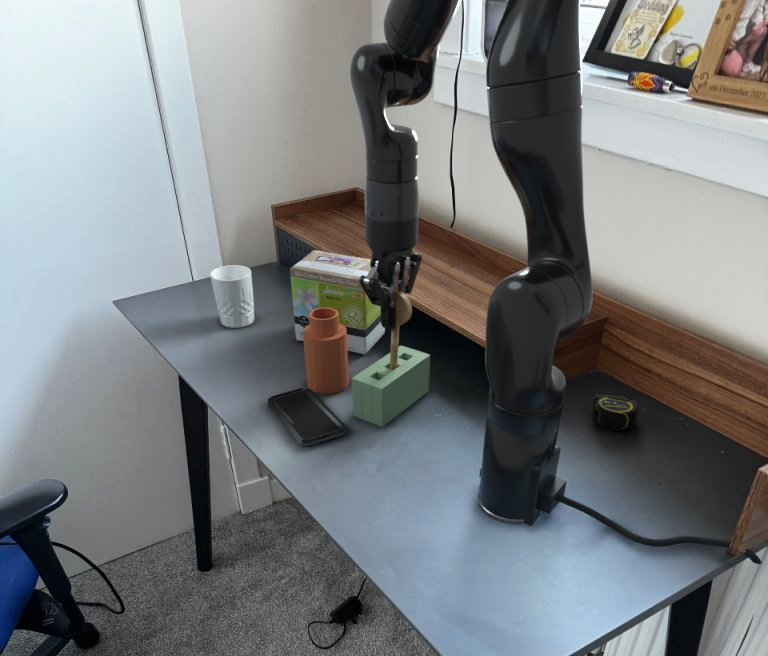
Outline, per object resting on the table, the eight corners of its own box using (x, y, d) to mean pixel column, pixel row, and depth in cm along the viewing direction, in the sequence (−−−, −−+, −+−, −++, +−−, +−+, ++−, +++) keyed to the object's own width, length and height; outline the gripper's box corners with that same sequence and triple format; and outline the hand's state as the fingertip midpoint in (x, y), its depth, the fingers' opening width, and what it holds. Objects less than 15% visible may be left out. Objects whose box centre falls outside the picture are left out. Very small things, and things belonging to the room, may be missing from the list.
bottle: (356, 380, 127) (354, 311, 119) (331, 398, 123) (326, 327, 114) (325, 369, 130) (320, 300, 122) (299, 386, 126) (292, 315, 118)
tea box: (294, 342, 139) (287, 266, 129) (318, 321, 146) (313, 247, 136) (366, 356, 134) (364, 278, 125) (386, 333, 141) (386, 258, 132)
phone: (307, 386, 123) (347, 427, 113) (308, 391, 124) (347, 433, 114) (264, 398, 120) (301, 441, 110) (265, 404, 121) (302, 448, 111)
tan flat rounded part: (406, 407, 121) (413, 295, 107) (402, 410, 120) (409, 297, 107) (381, 396, 123) (385, 285, 110) (377, 399, 122) (380, 288, 109)
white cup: (254, 329, 143) (247, 280, 137) (214, 329, 143) (206, 280, 137) (259, 312, 149) (253, 264, 143) (221, 312, 149) (214, 264, 143)
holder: (428, 391, 124) (430, 354, 120) (382, 427, 116) (381, 388, 111) (400, 381, 127) (401, 345, 122) (353, 415, 118) (351, 378, 114)
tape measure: (633, 414, 118) (638, 394, 116) (634, 437, 113) (640, 416, 110) (591, 409, 119) (595, 389, 117) (590, 431, 114) (594, 411, 112)
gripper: (385, 229, 95) (385, 349, 106) (440, 202, 104) (435, 316, 115) (340, 218, 99) (345, 335, 110) (397, 193, 107) (397, 305, 118)
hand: (391, 325), depth 112 cm, fingers closed on tan flat rounded part, 1 cm apart
